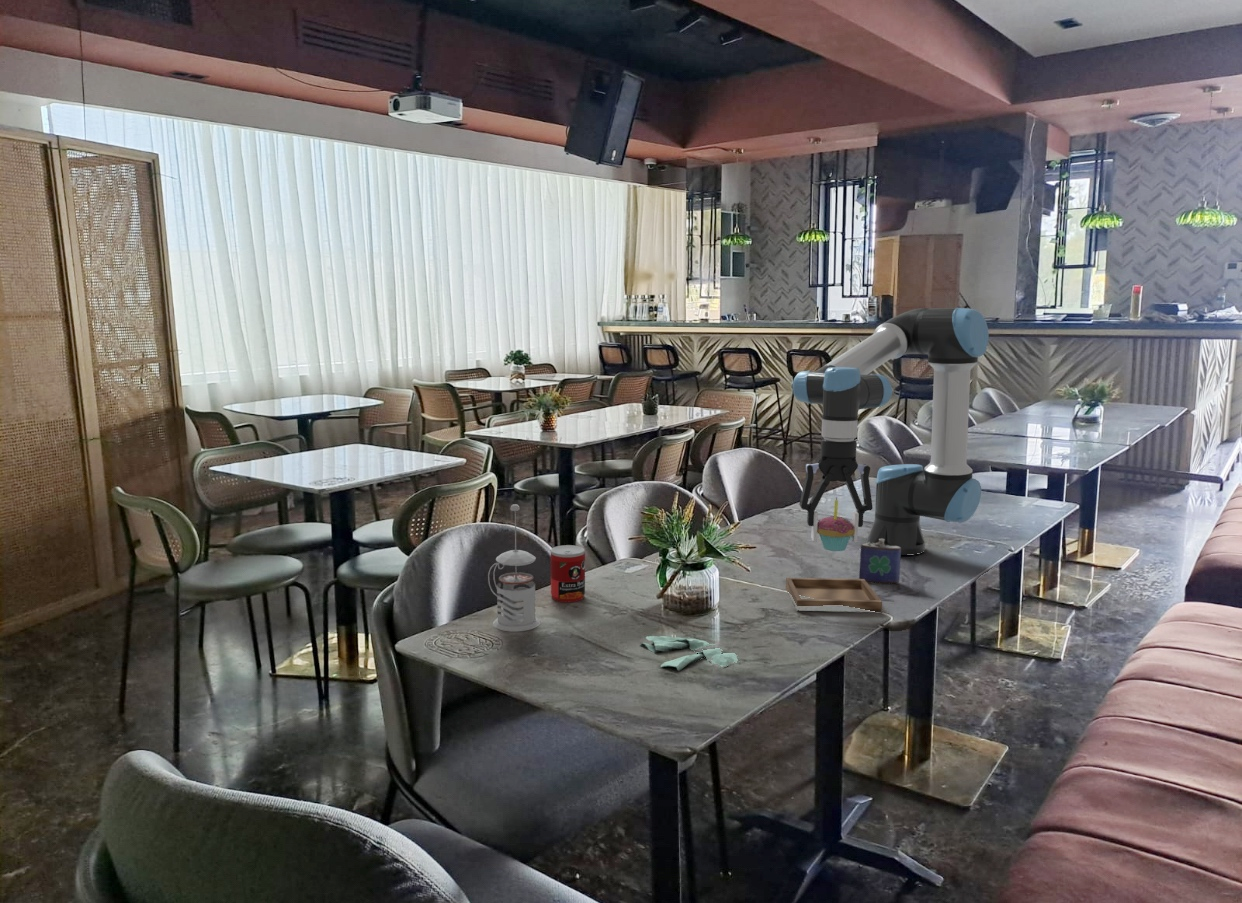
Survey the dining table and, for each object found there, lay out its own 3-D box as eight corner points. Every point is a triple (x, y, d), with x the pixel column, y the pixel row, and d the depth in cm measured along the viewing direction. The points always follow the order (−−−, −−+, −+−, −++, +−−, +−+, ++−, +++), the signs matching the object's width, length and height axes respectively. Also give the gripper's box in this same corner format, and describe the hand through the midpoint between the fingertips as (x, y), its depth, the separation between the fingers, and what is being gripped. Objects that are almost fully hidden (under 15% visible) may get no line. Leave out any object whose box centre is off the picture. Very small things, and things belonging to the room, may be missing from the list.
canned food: (559, 604, 190) (559, 556, 188) (545, 594, 197) (544, 547, 195) (591, 599, 194) (591, 551, 192) (576, 589, 201) (575, 543, 199)
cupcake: (854, 554, 187) (857, 500, 185) (814, 552, 189) (816, 498, 187) (852, 544, 196) (855, 492, 194) (813, 542, 197) (816, 490, 195)
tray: (863, 589, 202) (864, 579, 201) (881, 613, 186) (882, 601, 186) (785, 588, 202) (786, 577, 202) (796, 611, 187) (797, 600, 186)
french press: (520, 635, 172) (518, 511, 168) (475, 623, 178) (473, 504, 174) (550, 620, 181) (549, 502, 177) (506, 610, 187) (504, 496, 183)
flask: (899, 582, 208) (901, 538, 206) (899, 585, 205) (901, 541, 203) (858, 578, 210) (861, 535, 208) (858, 582, 207) (860, 538, 206)
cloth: (757, 669, 158) (757, 657, 157) (646, 688, 150) (646, 674, 150) (706, 631, 177) (706, 620, 176) (605, 645, 169) (605, 633, 168)
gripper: (883, 437, 192) (877, 537, 195) (787, 435, 193) (783, 535, 196) (892, 441, 184) (886, 545, 188) (793, 440, 185) (788, 544, 189)
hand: (834, 540), depth 192 cm, fingers closed on cupcake, 8 cm apart
